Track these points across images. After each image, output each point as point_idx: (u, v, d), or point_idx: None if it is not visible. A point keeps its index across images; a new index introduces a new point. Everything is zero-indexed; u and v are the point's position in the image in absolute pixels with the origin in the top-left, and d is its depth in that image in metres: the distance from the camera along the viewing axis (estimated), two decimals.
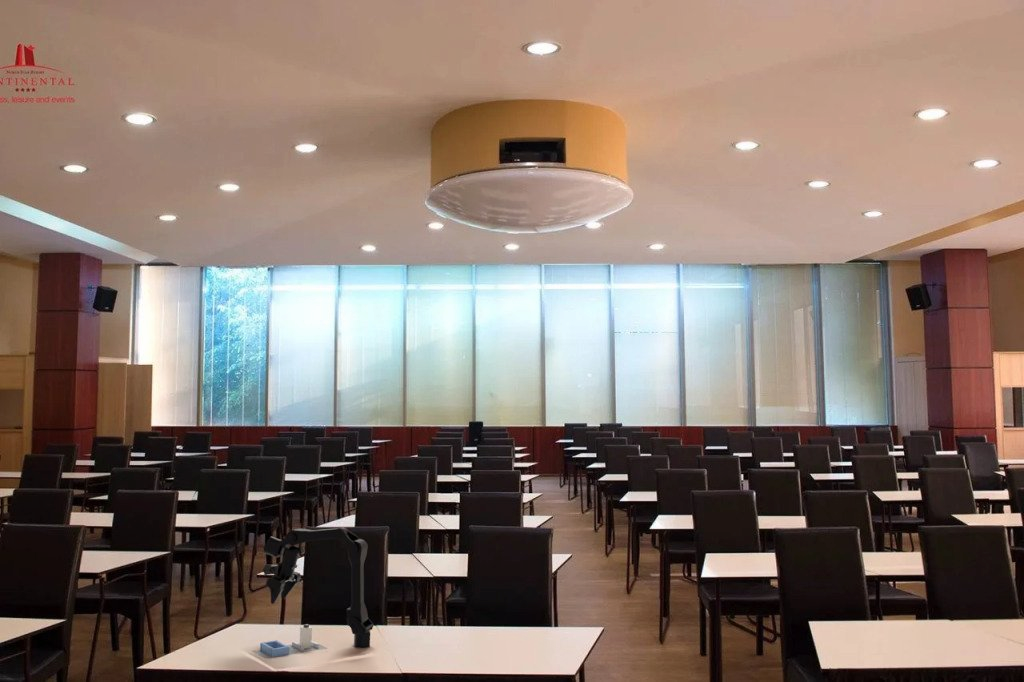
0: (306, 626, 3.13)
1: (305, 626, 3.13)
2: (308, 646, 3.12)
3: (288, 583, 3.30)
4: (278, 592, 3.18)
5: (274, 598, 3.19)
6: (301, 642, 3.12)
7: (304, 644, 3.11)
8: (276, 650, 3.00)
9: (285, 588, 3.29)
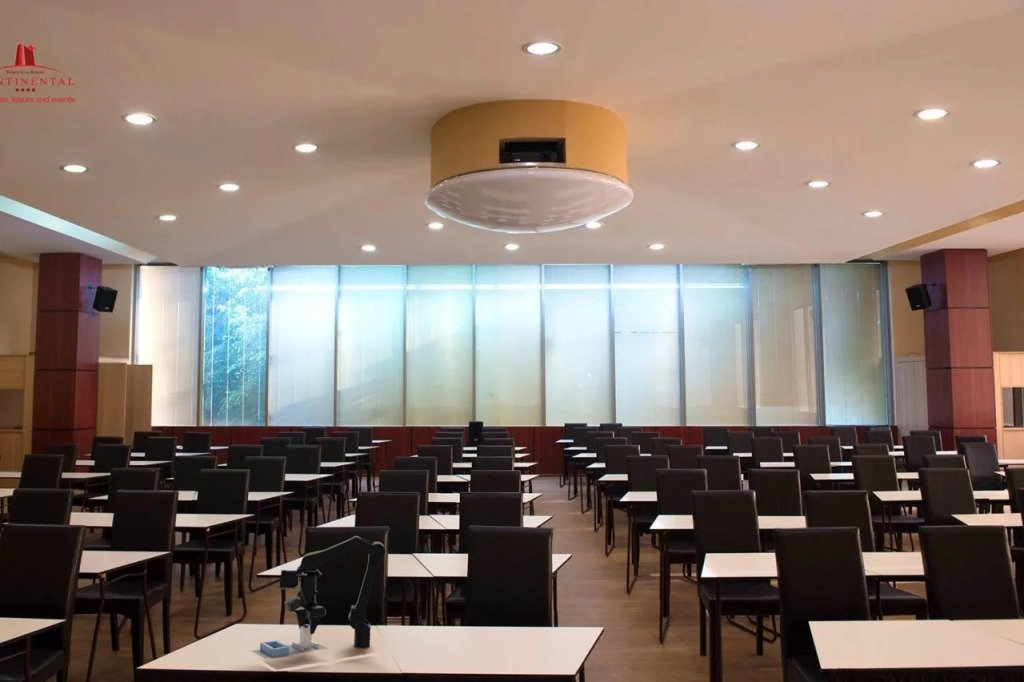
0: (306, 626, 3.13)
1: (305, 626, 3.13)
2: (308, 646, 3.12)
3: (301, 612, 3.18)
4: (319, 619, 3.10)
5: (314, 627, 3.10)
6: (301, 642, 3.12)
7: (304, 644, 3.11)
8: (276, 650, 3.00)
9: (300, 618, 3.18)
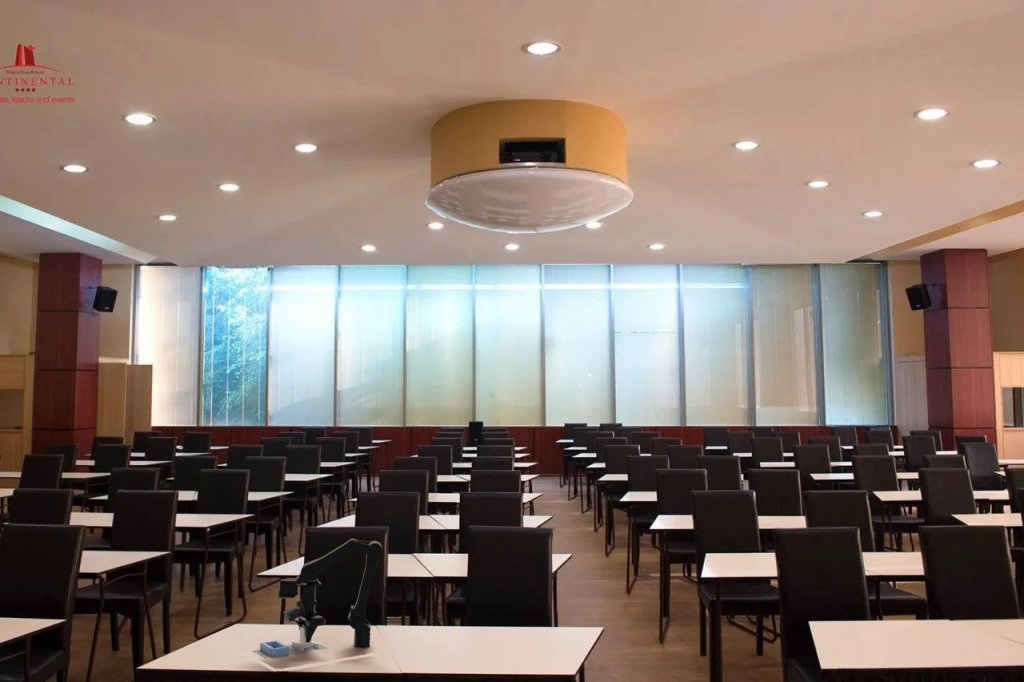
0: None
1: None
2: (308, 646, 3.12)
3: (304, 623, 3.16)
4: (315, 628, 3.12)
5: (310, 636, 3.12)
6: (301, 642, 3.12)
7: (304, 644, 3.11)
8: (276, 650, 3.00)
9: None
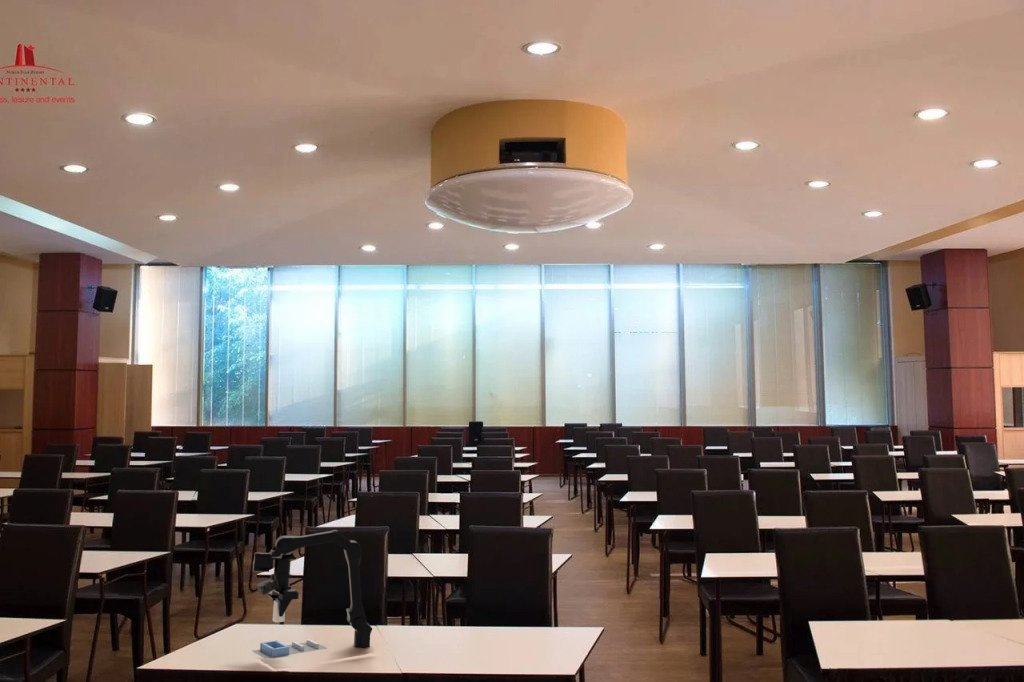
0: None
1: None
2: (281, 620, 3.07)
3: (278, 597, 3.10)
4: (288, 602, 3.07)
5: (283, 610, 3.06)
6: (274, 616, 3.07)
7: (277, 618, 3.06)
8: (276, 650, 3.00)
9: None
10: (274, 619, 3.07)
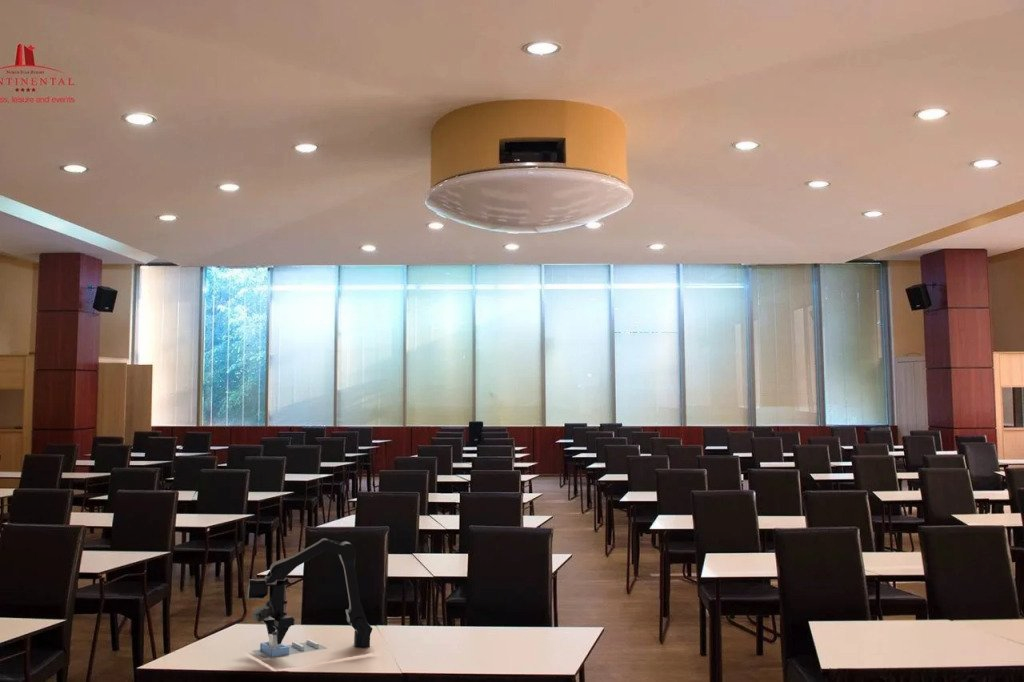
0: (275, 633, 3.05)
1: (274, 633, 3.05)
2: None
3: (272, 622, 3.10)
4: (286, 629, 3.04)
5: (282, 637, 3.03)
6: None
7: None
8: (276, 650, 3.00)
9: (270, 628, 3.09)
10: None
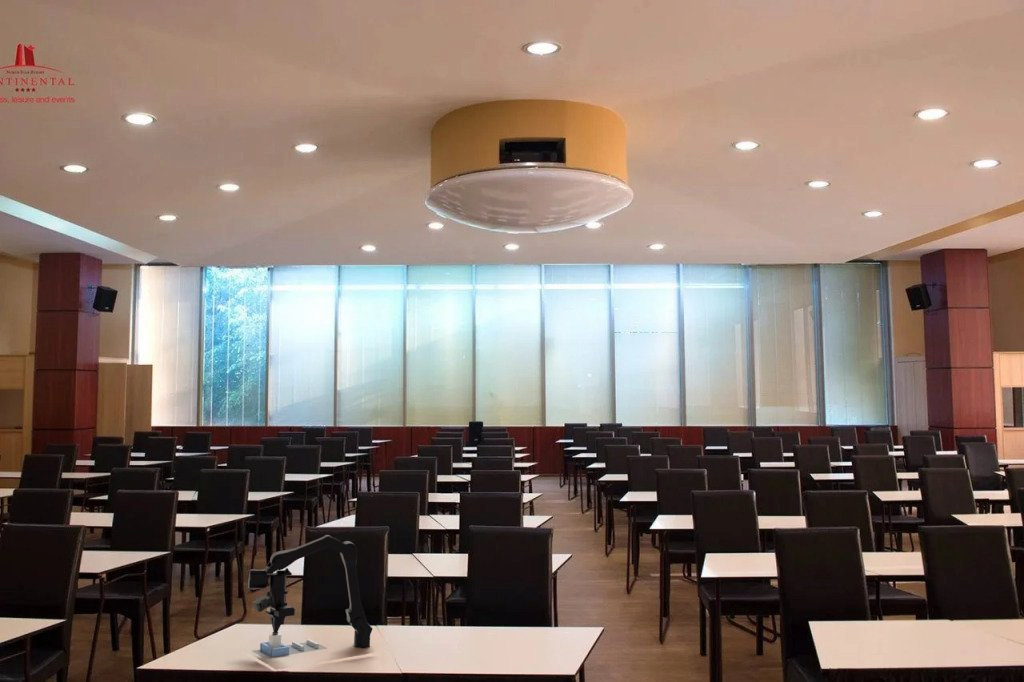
0: (275, 633, 3.05)
1: (274, 633, 3.05)
2: None
3: None
4: (283, 617, 3.06)
5: (278, 625, 3.06)
6: None
7: None
8: (276, 650, 3.00)
9: None
10: None
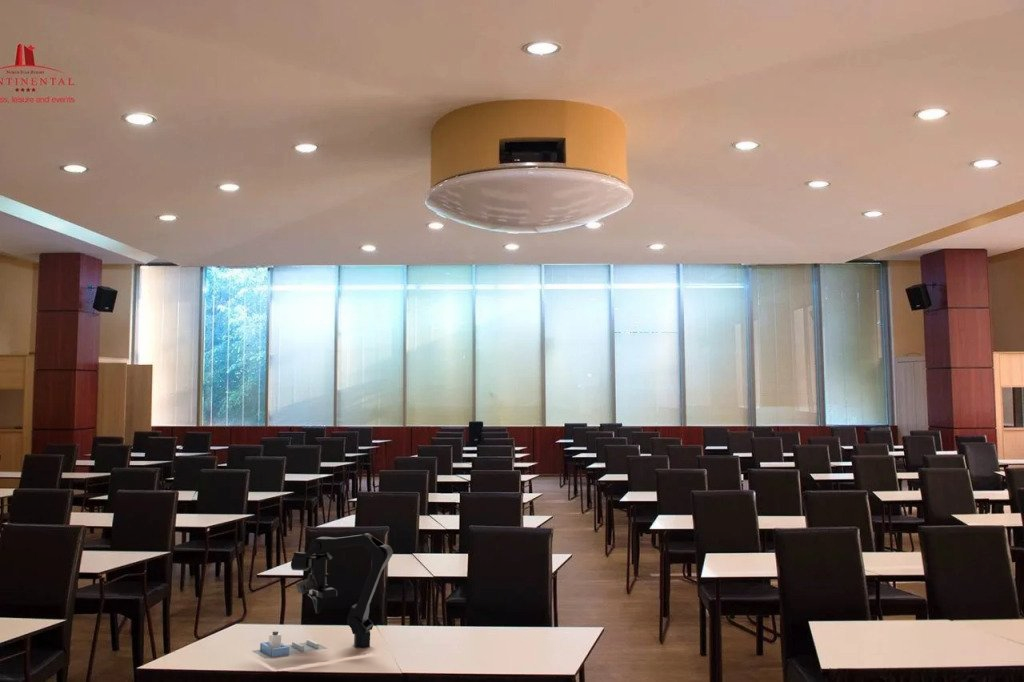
0: (275, 633, 3.05)
1: (274, 633, 3.05)
2: None
3: None
4: (325, 599, 3.21)
5: (320, 607, 3.21)
6: None
7: None
8: (276, 650, 3.00)
9: None
10: None
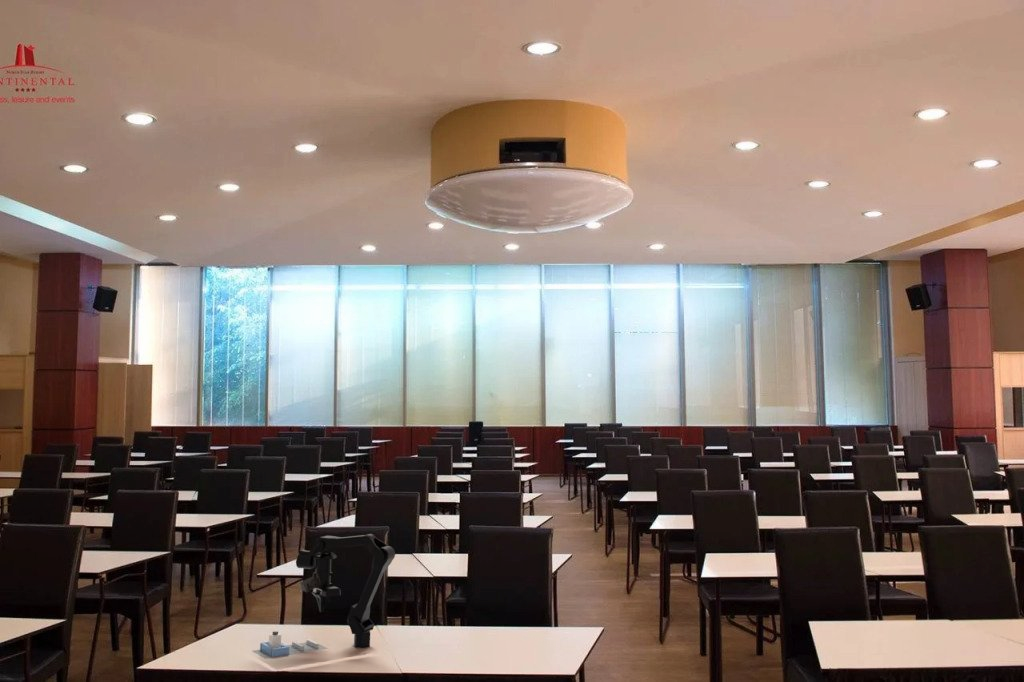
0: (275, 633, 3.05)
1: (274, 633, 3.05)
2: None
3: None
4: (328, 598, 3.22)
5: (324, 605, 3.22)
6: None
7: None
8: (276, 650, 3.00)
9: None
10: None
